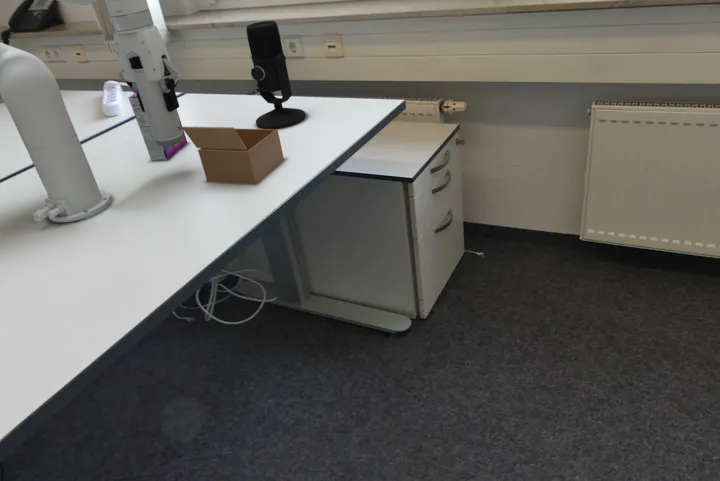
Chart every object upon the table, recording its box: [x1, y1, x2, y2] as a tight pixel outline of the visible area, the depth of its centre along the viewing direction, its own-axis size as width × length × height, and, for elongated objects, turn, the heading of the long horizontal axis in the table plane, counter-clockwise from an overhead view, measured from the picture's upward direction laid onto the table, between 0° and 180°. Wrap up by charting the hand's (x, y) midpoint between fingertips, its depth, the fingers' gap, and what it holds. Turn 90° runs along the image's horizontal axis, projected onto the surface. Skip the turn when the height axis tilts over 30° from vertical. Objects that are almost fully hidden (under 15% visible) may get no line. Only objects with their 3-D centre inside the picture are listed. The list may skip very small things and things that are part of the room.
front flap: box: [182, 126, 247, 150], centre depth 116 cm, size 6×12×1 cm
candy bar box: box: [128, 93, 188, 162], centre depth 140 cm, size 11×5×16 cm, turn 168°
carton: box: [197, 128, 285, 185], centre depth 126 cm, size 13×13×7 cm
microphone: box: [245, 20, 307, 130], centre depth 148 cm, size 14×14×25 cm
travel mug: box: [128, 56, 185, 146], centre depth 121 cm, size 6×7×20 cm
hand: (160, 108), depth 122 cm, fingers closed on travel mug, 6 cm apart
